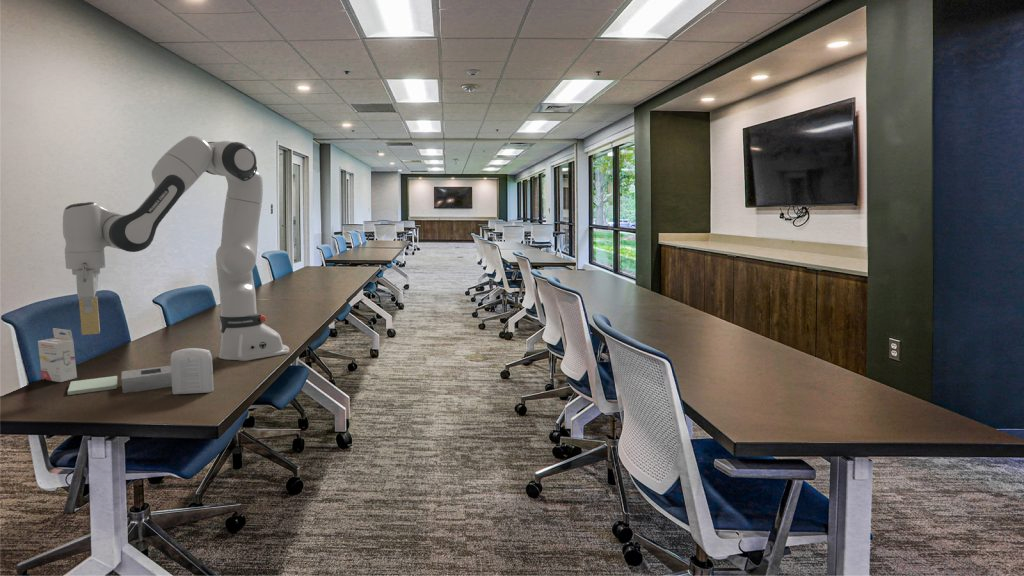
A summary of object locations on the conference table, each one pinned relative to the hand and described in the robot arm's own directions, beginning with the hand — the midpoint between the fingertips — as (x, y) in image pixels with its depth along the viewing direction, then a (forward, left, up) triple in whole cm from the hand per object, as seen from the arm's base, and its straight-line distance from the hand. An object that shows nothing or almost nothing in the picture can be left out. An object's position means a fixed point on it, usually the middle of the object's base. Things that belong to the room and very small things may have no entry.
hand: (89, 311), depth 164 cm
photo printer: (-23, +20, -22) cm, 37 cm away
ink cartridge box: (+10, -16, -22) cm, 29 cm away
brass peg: (0, 0, -6) cm, 6 cm away
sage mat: (+1, -1, -22) cm, 22 cm away
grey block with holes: (-15, +6, -22) cm, 27 cm away
